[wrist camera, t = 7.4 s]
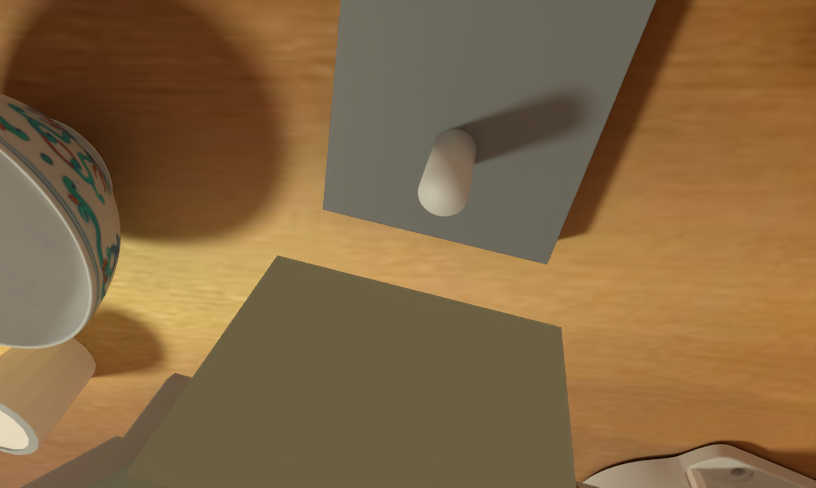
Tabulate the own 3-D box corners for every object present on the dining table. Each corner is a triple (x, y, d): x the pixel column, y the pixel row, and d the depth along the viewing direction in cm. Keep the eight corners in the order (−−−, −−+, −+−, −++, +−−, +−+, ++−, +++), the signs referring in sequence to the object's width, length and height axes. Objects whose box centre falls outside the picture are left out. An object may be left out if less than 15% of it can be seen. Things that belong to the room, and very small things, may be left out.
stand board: (778, -344, 16) (949, -506, 9) (545, 243, 28) (552, 339, 22) (393, -413, 16) (317, -608, 10) (333, 192, 29) (283, 270, 22)
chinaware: (215, 262, 33) (144, 347, 27) (34, 274, 37) (-66, 350, 31) (100, 16, 26) (-38, 53, 19) (-114, 62, 29) (-289, 106, 23)
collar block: (561, 327, 10) (587, 604, 6) (486, 486, 14) (471, 733, 10) (277, 255, 11) (125, 473, 7) (272, 428, 14) (170, 642, 10)
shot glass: (100, 339, 40) (29, 412, 34) (106, 393, 44) (43, 467, 38) (16, 311, 40) (-70, 379, 34) (29, 367, 44) (-45, 437, 38)
